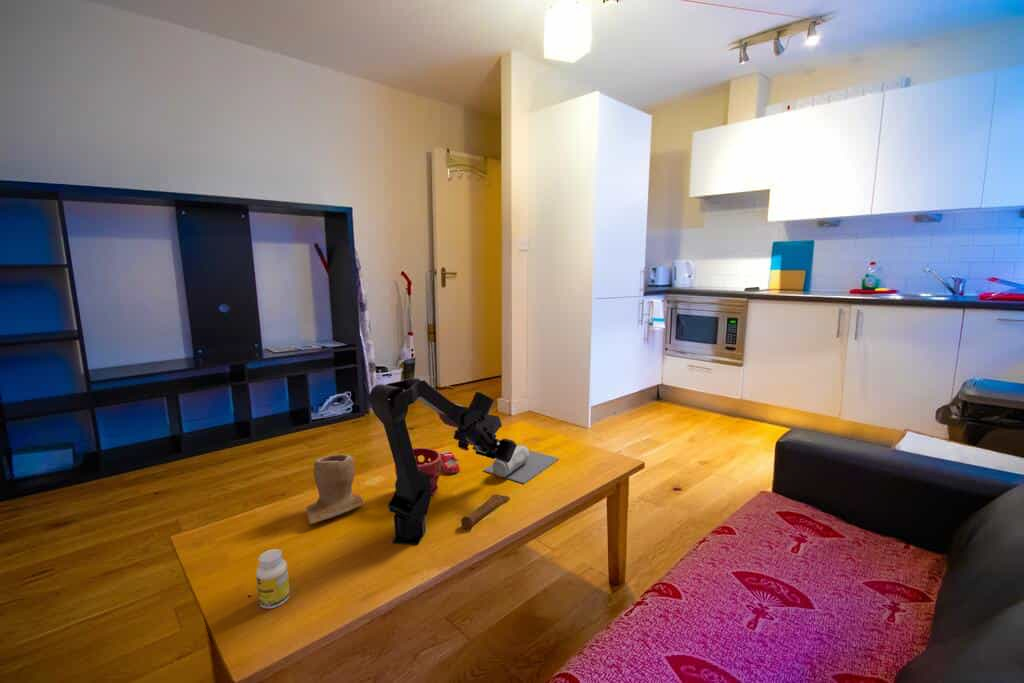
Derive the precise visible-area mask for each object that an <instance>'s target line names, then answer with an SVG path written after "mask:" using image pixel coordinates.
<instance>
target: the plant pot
mask: <svg viewBox="0 0 1024 683" xmlns="http://www.w3.org/2000/svg"><path fill="white" fill-rule="evenodd" d="M412 448H413V451H414V455H415V459H416V463H417V466H418V470H419V471H422V472H425V473H428V474H429V476H430V483H431V485H432V486H433V488H431V491H432V496H431V498H432V497H434V496H435V494H436V493H437V492H438V489H439V486H438V482H439V479H440V474H441V469H442V467H441V455H440V454H441V453H440V452H439V451H438V450H435V449H433V448H428V447H412ZM420 456H422V457H423V461H420V460H419V457H420ZM394 469H395V470H394V471H395V477H396V478H397V477H398V473H397V469H396V466H395V465H394Z"/></svg>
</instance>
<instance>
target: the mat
mask: <svg viewBox="0 0 1024 683" xmlns="http://www.w3.org/2000/svg"><path fill="white" fill-rule="evenodd" d="M529 451H530V456H529V459H528V461H527V462H525V463H524V464H522V465H521V466H520V467H518V468H517V469H515V470H514V471H513V472H511V473H510V474H508V475H507V476H505V477H502V478H503V479H507V480H510V481H513V482H516V483H519V484H523V485H525V484H527V483H528V482H529V481H531V480H532V479H534V478H535V477H536V476H538V475H539V474H541V473H542V472H544V471H545V470H546V469H548V468H549V467H551V466H552V465H553V464H555V463H557V462H558V461H559V460H560V458H559V457H556V456H552V455H549V454H545V453H541V452H537V451H533V450H531V449H529ZM482 471H483V472H485V471H486V472H485V473H488V472H489V474H491V473H492V474H491V475H494V474H495V473H494V471H493V464H491V465H489V466H487V467H486V468H485V469H482ZM495 476H497V475H496V474H495Z"/></svg>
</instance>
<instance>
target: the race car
mask: <svg viewBox="0 0 1024 683" xmlns="http://www.w3.org/2000/svg"><path fill="white" fill-rule="evenodd" d="M440 455H441V466H442V467H441V469H442V471H443V470H444V471H443V473H446V474H447V475H451V474H452V475H453V474H458V473H459V472H460V465H459V462H458V460H459V459H458V458H457V459H456V457H455V455H454V453H453V452H452V451H444V452H441V453H440Z"/></svg>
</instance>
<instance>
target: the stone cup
mask: <svg viewBox="0 0 1024 683" xmlns="http://www.w3.org/2000/svg"><path fill="white" fill-rule="evenodd" d="M313 465H314V466H313V477H314V481H315V484H316V488H317V491H318V499H317V501H316V502H315V503H312V504H309V505H307V506H306V507H305V508H306V509H305V510H306V516H307V521H308V523H309V524H310V525H313V524H316V523H318V522H319V523H320V522H322V521H326V520H329V519H332V518H334V517H337V516H339V515H340V516H341V515H342V514H344V513H348V512H350V511H353V510H354V509H357V508H359V507H361V506H362V505H363V504H364V500H363V497H361V496H360V495H357V494H356V493H352V492H353V491H352V490H353V489H352V486H353V482H354V477H355V468H356V467H355V461H354V458H353V457H352V455H349V454H343V453H342V454H341V453H340V454H339V453H338V454H332V455H331V454H329V455H327V456H323V457H320V458H318V459H316V460H315V462H314V464H313Z"/></svg>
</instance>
